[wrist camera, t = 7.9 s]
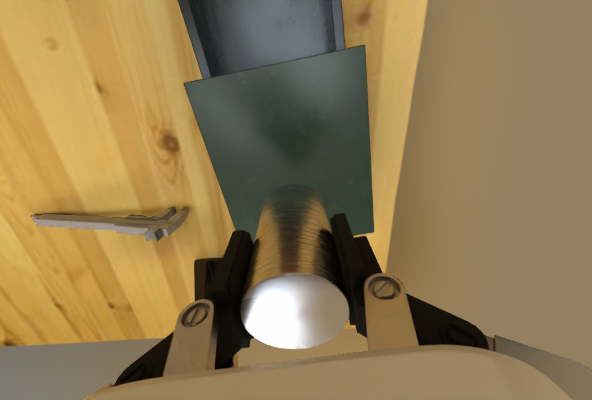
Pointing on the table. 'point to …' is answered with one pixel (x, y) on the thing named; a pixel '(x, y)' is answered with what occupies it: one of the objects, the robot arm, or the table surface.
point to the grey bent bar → (120, 223)
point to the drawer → (260, 32)
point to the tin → (294, 273)
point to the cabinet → (290, 134)
